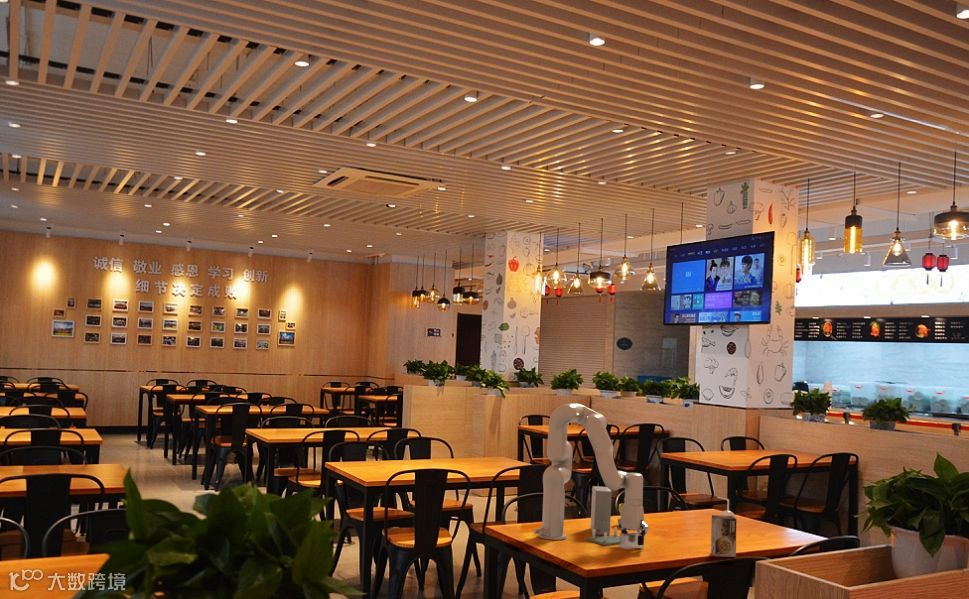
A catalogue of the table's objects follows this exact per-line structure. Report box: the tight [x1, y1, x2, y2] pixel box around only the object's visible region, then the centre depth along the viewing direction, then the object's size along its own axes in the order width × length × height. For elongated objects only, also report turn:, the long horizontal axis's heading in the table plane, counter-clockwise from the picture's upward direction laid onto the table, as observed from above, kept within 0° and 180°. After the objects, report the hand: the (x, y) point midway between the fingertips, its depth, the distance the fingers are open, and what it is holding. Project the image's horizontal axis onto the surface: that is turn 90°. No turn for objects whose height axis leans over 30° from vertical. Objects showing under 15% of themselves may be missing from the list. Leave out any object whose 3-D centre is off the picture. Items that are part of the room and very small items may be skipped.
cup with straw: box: [716, 495, 738, 520], centre depth 391 cm, size 8×9×20 cm
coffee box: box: [710, 514, 738, 558], centre depth 362 cm, size 9×6×16 cm
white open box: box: [618, 531, 645, 550], centre depth 366 cm, size 10×4×6 cm, turn 119°
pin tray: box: [587, 526, 630, 547], centre depth 377 cm, size 17×11×5 cm, turn 126°
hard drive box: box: [590, 485, 613, 536], centre depth 397 cm, size 16×8×20 cm, turn 179°
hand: (632, 542), depth 366 cm, fingers open, 9 cm apart
